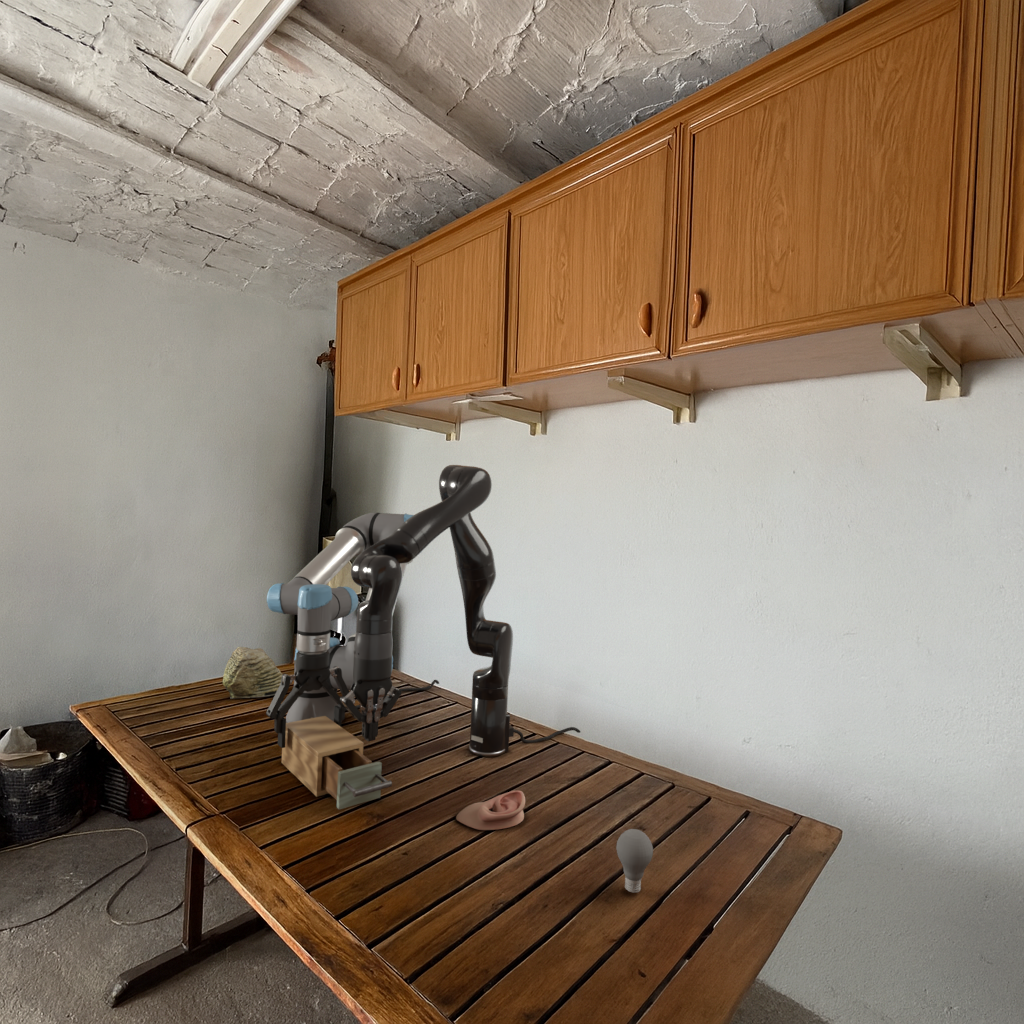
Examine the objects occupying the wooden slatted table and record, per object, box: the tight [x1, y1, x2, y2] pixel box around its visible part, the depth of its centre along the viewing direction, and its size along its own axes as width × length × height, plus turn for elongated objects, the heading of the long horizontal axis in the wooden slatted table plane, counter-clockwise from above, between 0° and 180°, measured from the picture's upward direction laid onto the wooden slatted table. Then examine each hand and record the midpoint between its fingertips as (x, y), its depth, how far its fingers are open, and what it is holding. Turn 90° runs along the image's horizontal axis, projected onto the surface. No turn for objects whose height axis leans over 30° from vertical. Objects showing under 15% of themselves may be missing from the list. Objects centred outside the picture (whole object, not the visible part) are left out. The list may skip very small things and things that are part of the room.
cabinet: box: [281, 716, 364, 798], centre depth 145 cm, size 21×10×9 cm, turn 40°
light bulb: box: [615, 828, 654, 894], centre depth 106 cm, size 6×6×10 cm
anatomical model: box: [455, 789, 526, 831], centre depth 128 cm, size 13×4×12 cm
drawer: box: [321, 749, 393, 811], centre depth 135 cm, size 25×9×7 cm, turn 40°
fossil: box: [222, 646, 283, 699], centre depth 198 cm, size 9×18×15 cm, turn 132°
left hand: (310, 739), depth 150 cm, fingers open, 13 cm apart
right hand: (369, 739), depth 127 cm, fingers closed
